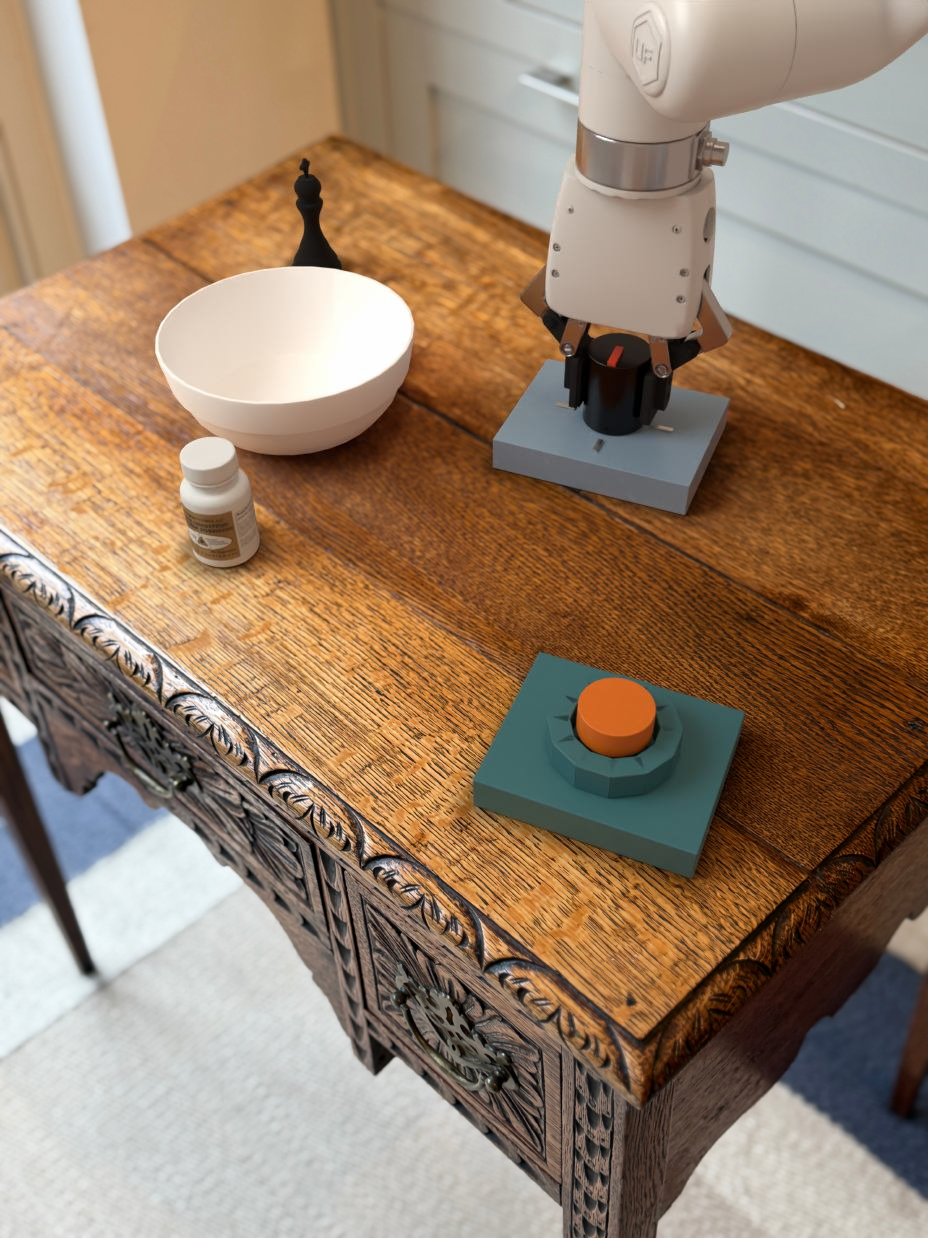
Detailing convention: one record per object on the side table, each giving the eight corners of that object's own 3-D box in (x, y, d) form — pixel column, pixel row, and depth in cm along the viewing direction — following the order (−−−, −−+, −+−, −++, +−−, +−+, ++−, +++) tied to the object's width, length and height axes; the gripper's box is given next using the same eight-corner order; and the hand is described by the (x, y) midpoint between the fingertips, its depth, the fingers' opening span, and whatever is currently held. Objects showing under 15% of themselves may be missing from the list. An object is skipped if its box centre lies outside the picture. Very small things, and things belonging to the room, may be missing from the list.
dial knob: (592, 394, 85) (598, 323, 81) (652, 406, 84) (660, 335, 80) (574, 428, 82) (579, 356, 78) (635, 441, 81) (643, 369, 77)
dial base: (725, 426, 87) (730, 396, 85) (685, 515, 79) (689, 484, 78) (546, 386, 91) (547, 356, 89) (492, 467, 84) (492, 437, 82)
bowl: (127, 464, 84) (104, 377, 79) (239, 333, 97) (225, 251, 92) (366, 512, 80) (358, 424, 75) (451, 369, 92) (449, 285, 87)
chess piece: (283, 278, 103) (268, 165, 96) (303, 254, 106) (290, 144, 99) (330, 285, 102) (318, 172, 95) (349, 261, 105) (339, 150, 98)
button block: (739, 737, 66) (751, 689, 63) (692, 880, 59) (702, 833, 57) (538, 676, 69) (540, 628, 66) (472, 805, 63) (471, 758, 60)
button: (662, 712, 62) (665, 690, 61) (639, 767, 60) (643, 745, 59) (590, 690, 64) (592, 668, 62) (565, 744, 61) (567, 722, 60)
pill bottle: (180, 560, 77) (157, 465, 72) (215, 519, 80) (195, 425, 74) (239, 576, 76) (220, 481, 70) (272, 534, 79) (256, 440, 73)
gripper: (795, 146, 70) (747, 404, 83) (529, 103, 75) (522, 353, 88) (765, 200, 65) (718, 465, 78) (483, 150, 70) (483, 407, 83)
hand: (615, 403), depth 83 cm, fingers closed on dial knob, 4 cm apart
